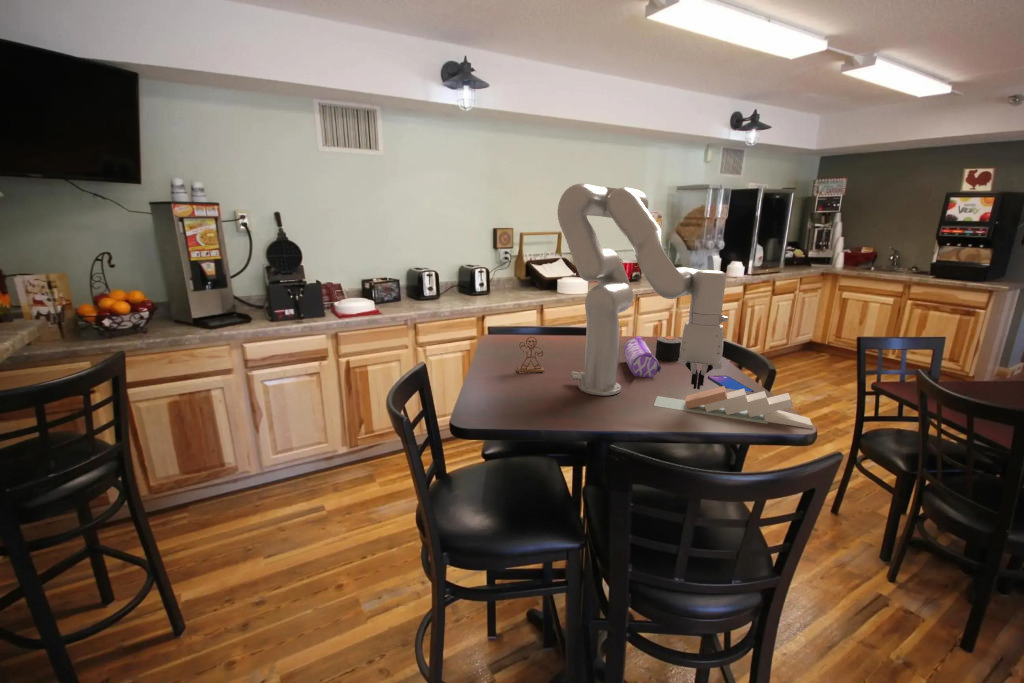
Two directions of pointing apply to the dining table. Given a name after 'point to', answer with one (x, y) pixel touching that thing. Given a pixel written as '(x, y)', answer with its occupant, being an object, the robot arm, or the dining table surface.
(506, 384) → the dining table surface
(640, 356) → the pencil case
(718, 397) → the domino
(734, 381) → the smartphone
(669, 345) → the sushi
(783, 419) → the domino
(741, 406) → the domino
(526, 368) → the gingerbread man figurine
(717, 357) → the robot arm
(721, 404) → the domino
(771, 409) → the domino
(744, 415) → the board
